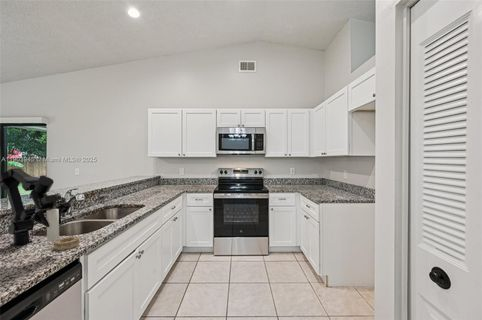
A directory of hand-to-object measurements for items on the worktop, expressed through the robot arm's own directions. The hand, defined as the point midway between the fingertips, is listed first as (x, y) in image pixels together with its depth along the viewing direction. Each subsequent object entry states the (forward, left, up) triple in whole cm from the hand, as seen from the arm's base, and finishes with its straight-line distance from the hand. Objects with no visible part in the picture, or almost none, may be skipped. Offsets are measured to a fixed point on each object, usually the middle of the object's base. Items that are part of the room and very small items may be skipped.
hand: (54, 225), depth 113 cm
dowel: (-1, 0, -7) cm, 7 cm away
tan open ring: (-4, +9, -13) cm, 17 cm away
